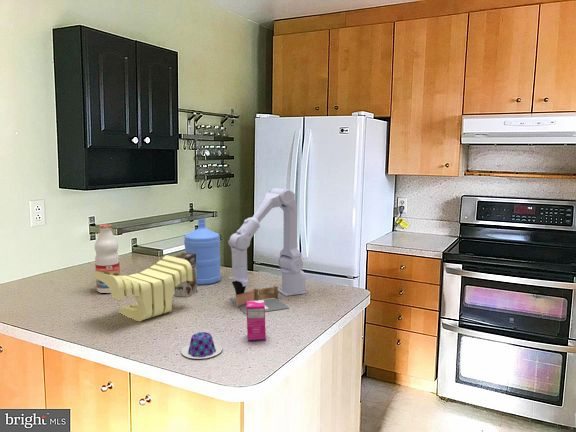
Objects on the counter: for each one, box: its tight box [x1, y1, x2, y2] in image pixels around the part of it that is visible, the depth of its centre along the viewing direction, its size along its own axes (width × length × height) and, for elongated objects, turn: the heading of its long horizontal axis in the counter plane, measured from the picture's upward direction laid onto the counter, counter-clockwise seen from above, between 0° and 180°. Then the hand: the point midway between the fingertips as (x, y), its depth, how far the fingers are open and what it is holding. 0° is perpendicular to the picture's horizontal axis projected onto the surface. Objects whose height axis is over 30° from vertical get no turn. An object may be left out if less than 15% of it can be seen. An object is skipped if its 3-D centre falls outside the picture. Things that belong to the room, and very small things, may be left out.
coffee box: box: [173, 252, 198, 298], centre depth 195 cm, size 9×6×16 cm
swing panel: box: [235, 289, 255, 307], centre depth 182 cm, size 9×1×4 cm, turn 139°
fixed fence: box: [252, 285, 279, 301], centre depth 188 cm, size 10×2×5 cm, turn 113°
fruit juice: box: [94, 223, 121, 294], centre depth 198 cm, size 9×9×28 cm
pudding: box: [180, 331, 223, 360], centre depth 141 cm, size 12×12×5 cm
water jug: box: [183, 218, 222, 286], centre depth 213 cm, size 16×16×28 cm
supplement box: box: [246, 300, 267, 342], centre depth 150 cm, size 6×6×12 cm
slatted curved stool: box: [93, 254, 193, 322], centre depth 172 cm, size 30×16×18 cm, turn 140°
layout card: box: [230, 294, 290, 316], centre depth 183 cm, size 17×19×1 cm
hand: (240, 299), depth 182 cm, fingers closed, pressing on swing panel
